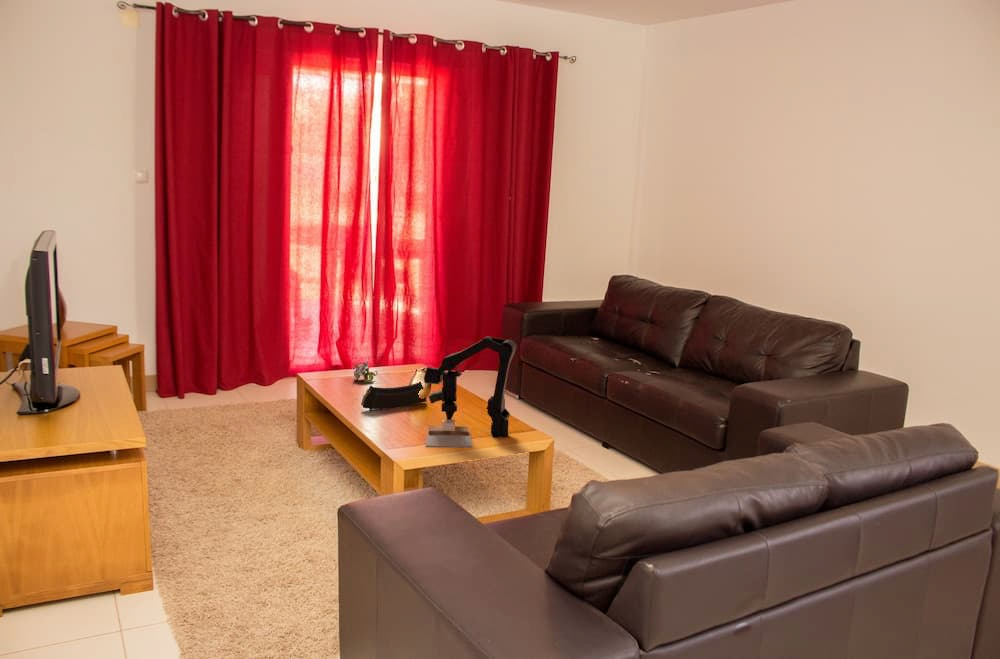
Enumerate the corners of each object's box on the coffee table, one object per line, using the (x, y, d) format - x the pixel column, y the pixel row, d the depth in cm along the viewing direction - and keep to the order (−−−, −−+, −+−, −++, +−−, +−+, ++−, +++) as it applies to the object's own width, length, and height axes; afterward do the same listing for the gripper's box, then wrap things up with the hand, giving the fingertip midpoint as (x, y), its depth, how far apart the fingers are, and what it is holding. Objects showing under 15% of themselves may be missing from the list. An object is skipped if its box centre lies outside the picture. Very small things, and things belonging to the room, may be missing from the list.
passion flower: (356, 391, 406) (348, 369, 409) (377, 385, 410) (369, 363, 413) (360, 383, 396) (352, 361, 399) (381, 377, 401) (373, 355, 404)
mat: (470, 436, 331) (470, 435, 331) (471, 447, 319) (471, 446, 319) (426, 435, 330) (426, 434, 330) (425, 446, 317) (425, 445, 317)
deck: (467, 431, 337) (468, 426, 337) (468, 436, 331) (468, 431, 331) (428, 430, 336) (429, 426, 335) (428, 435, 330) (428, 430, 330)
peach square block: (454, 426, 336) (454, 419, 335) (454, 430, 331) (455, 423, 330) (442, 426, 335) (442, 419, 335) (442, 430, 331) (442, 423, 330)
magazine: (428, 382, 374) (370, 370, 357) (432, 384, 371) (373, 372, 354) (418, 418, 374) (359, 407, 358) (421, 420, 372) (362, 410, 355)
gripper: (430, 379, 344) (429, 414, 347) (429, 391, 326) (428, 428, 329) (456, 379, 345) (455, 414, 348) (457, 392, 327) (456, 429, 330)
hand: (448, 421), depth 339 cm, fingers closed
